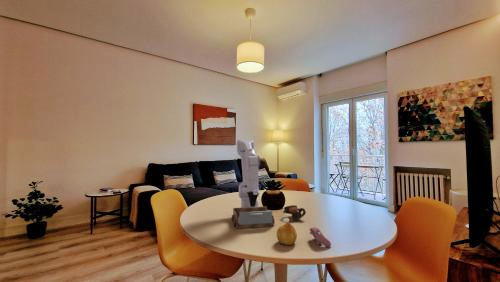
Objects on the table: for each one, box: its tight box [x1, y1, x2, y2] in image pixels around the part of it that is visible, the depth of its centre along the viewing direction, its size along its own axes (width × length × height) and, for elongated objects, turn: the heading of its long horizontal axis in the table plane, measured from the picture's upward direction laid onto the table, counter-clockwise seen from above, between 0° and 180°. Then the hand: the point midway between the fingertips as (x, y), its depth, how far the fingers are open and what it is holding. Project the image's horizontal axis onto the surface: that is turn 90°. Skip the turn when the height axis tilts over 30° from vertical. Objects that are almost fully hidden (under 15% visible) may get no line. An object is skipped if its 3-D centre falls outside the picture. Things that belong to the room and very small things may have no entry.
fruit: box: [276, 222, 298, 246], centre depth 93 cm, size 8×8×8 cm
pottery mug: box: [282, 204, 307, 222], centre depth 125 cm, size 12×10×8 cm
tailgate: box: [239, 210, 273, 225], centre depth 109 cm, size 16×2×6 cm, turn 101°
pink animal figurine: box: [309, 226, 332, 248], centre depth 94 cm, size 10×5×7 cm, turn 5°
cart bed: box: [231, 206, 275, 230], centre depth 118 cm, size 20×14×6 cm
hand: (252, 206), depth 117 cm, fingers closed
